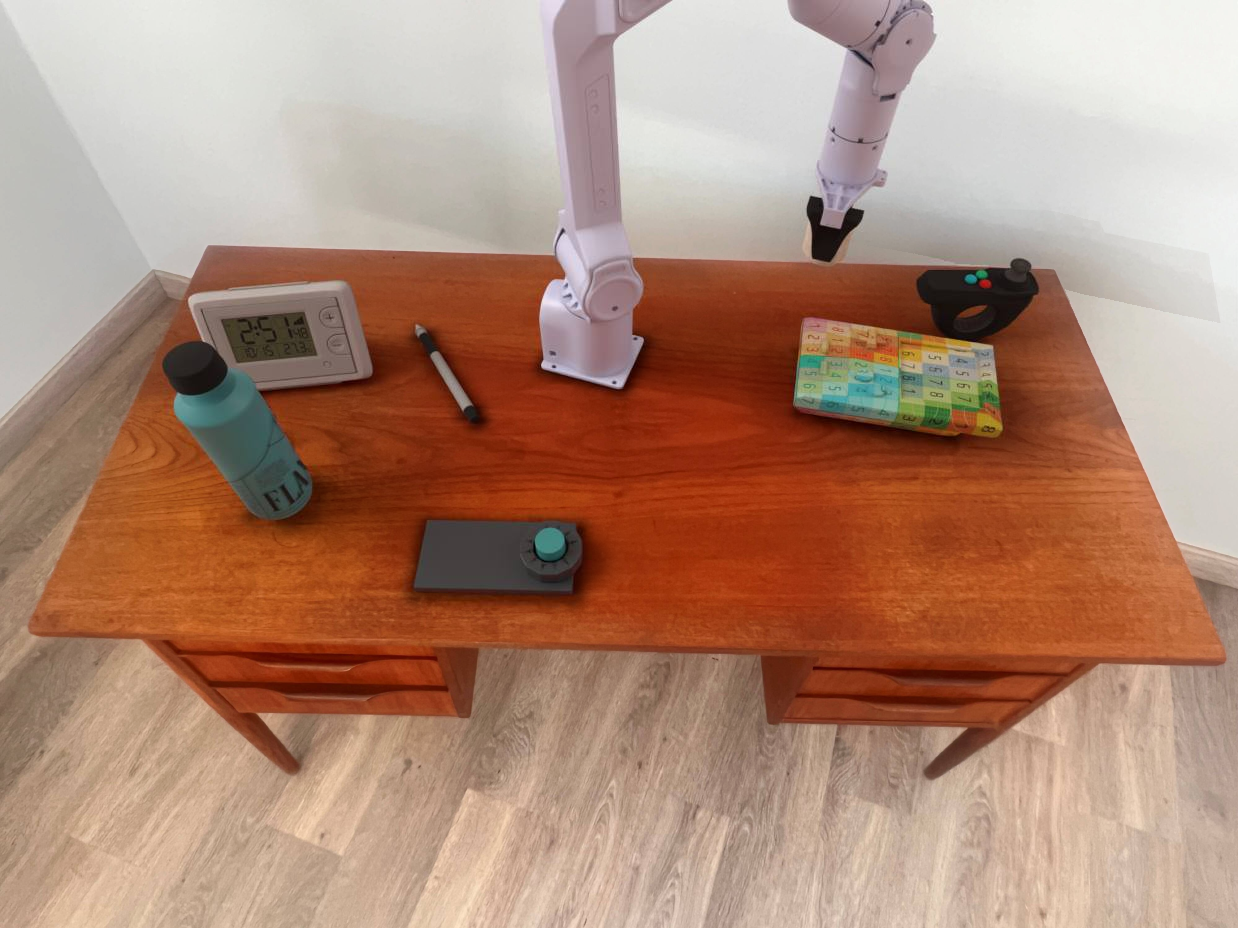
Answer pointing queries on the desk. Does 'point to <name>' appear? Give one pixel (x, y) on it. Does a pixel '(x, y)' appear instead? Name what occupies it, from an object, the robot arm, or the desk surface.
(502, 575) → the grey dial base
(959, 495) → the desk surface
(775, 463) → the desk surface
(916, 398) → the puzzle game
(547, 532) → the tare button
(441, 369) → the pen
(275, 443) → the beverage bottle
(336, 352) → the digital clock
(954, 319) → the controller
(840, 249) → the white cup
